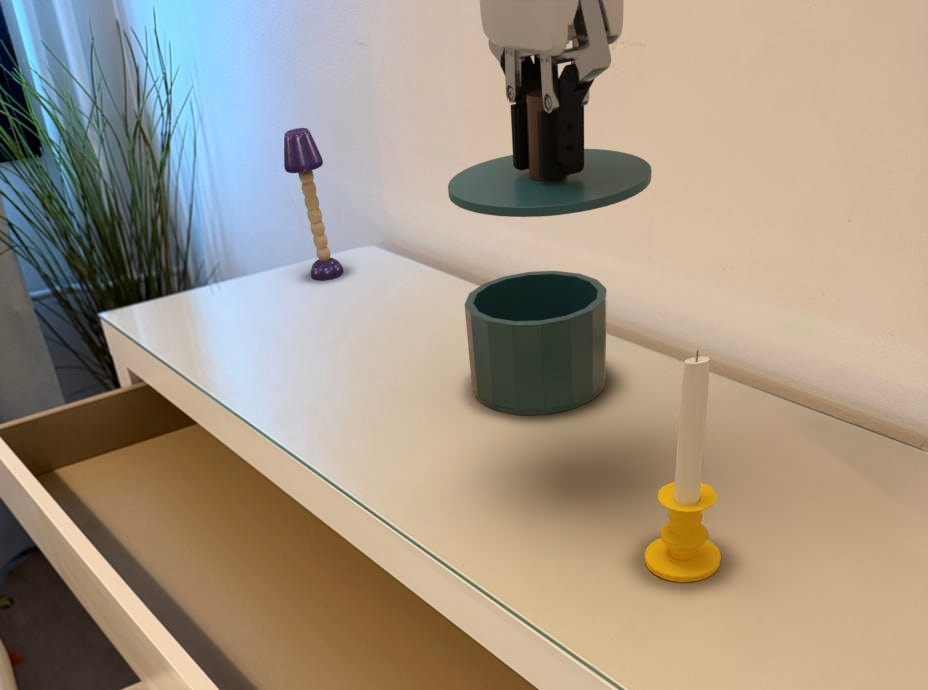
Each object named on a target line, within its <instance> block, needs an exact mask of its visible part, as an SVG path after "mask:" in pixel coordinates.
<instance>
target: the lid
mask: <svg viewBox="0 0 928 690" xmlns="http://www.w3.org/2000/svg"><path fill="white" fill-rule="evenodd" d="M526 106H527V133H528V159H529V169H526V170H518V169H516V168H514V165H513V154H509V155H505V156H500V157H497V158H493V159H489V160H486V161H483V162H480V163H477V164H473V165H472V166H469V167H466V169H463V170H461V171H460V172H458V173H457V174H455V175H454V176H453V177H452V178H451V179H450V180H449V182H448V184H447V191H448V192H447V193H448V198H449V200H450V202H451V203H452V204H453V205H454V206H456V207H458V208H460V209H463V210H464V211H465V210H466V211H469V212H472V213H475V214H481V215H486V216H496V217H507V218H508V217H510V218H537V217H538V218H540V217H541V218H542V217H553V216H563V215H570V214H577V213H582V212H583V213H584V212H586V211H593V210H597V209H601V208H605V207H608V206H612V205H615V204H618V203H621V202H624V201H626V200H629V199H631V198H633V197H635V196H637V195H639V194H640V193H641V192H644V190H646V189H647V188H648V187H649V185H650V184H651V181H652V166H651V164H650V163H649V162H648V161H647V160H645V159H644V158H641V157H640V156H637V155H635V154H631V153H627V152H623V151H619V150H618V151H617V150H611V149H602V148H601V149H600V148H584V168H583V170H582V171H581V172H579V173H575V174H571V175H567V176H563V177H559V178H555V179H551V180H545V179H542V178H541V177H540V175H539V151H538V120H537V112H541V111H545V110H544V107H543V98H542V89H538V90H534V91H531V92H529V93H527V94H526Z"/></svg>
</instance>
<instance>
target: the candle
mask: <svg viewBox="0 0 928 690" xmlns="http://www.w3.org/2000/svg"><path fill="white" fill-rule="evenodd" d="M710 360H711V358H710V357H708V356H699V349H698V350H696V353H695V356H693V357H690V358H687V359H685V360H684V364H683V373H682V381H681V392H680V403H679V405H680V406H679V421H678V431H677V447H676V462H675V474H674V481H672V482H669V483H667V484H665V485H664V486H662V487H661V488H660V489H659V490H658V493H657V500H658V502H659V504H660V505H661V506H663V507H664V508H666V509H668V510H669V512H668V522H667V523H665V524H664V525H663V526H662V527H661V529H660V533H659V534H660V537H659V538H657V539H655V540H654V541H652V542H651V543H649V544H648V546H647V547H646V548H645V552H644V562H645V563H644V564H645V565H646V567H647V569H648V570H649V571H650V572H651V573H652V574H653V575H655V576H656V577H657V576H658V577H659V578H661V579H663V580H667V581H670V582H676V583H692V582H697V581H702V580H704V579H707V578H709V577H710V576H712V575H713V574H715V573H716V572H717V570H718V569H719V567H720V565H721V559H722V558H721V557H722V556H721V551H720V549H719V548H718V547H717V546H716V544H715V543H713V542H712V541H710V540H709V539H708V538H709V537H708V536H709V531H708V528H707V527H706V526H705V525H704V524H703V523H702V521H703V517H704V516H703V511H705V510H707V509H709V508H711V507H713V506H714V505H715V503H716V502H717V500H718V495H717V492H716V491H715V489H714V488H713V487H711V486H710V485H709V484H707V483H704V482H702V476H703V463H704V451H705V438H706V437H705V436H706V427H707V426H706V424H707V412H708V411H707V410H708V401H709V400H708V399H709V386H710Z"/></svg>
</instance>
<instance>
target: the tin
mask: <svg viewBox="0 0 928 690" xmlns="http://www.w3.org/2000/svg"><path fill="white" fill-rule="evenodd" d="M607 296H608V295H607V287H605V286H604V285H603V284H602V283H601V282H600V281H599V280H598V279H596V278H594V277H591V276H588V275H585V274H582V273H579V272H569V271H562V270H561V271H560V270H540V271H539V270H538V271H535V270H534V271H527V272H520V273H515V274H509V275H505V276H501V277H497V278H496V279H493V280H490V281H487V282H484V283H482V284H480V285H479V286H478V287H476V288H475V289H473V290H472V291H470V292H469V293H468V295H467V298H466V300H465V302H464V314H465V325H466V336H467V345H468V346H467V348H468V359H469V369H470V381H471V387H472V389H473V395H474V397H475V398H476V399H477V400H478V401H479V402H480V403H481V404H482V405H484V406H485V407H487V408H490V409H492V410H495V411H497V412H501V413H506V414H511V415H521V416H541V415H550V414H557V413H561V412H565V411H569V410H573V409H576V408H579V407H581V406H583V405H585V404H587V403H590V402H591V401H592V400H594V399H595V398H597V396H598V395H600V394H601V392H602V391H603V390H604V388H605V385H606V373H607Z"/></svg>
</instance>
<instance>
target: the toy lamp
mask: <svg viewBox="0 0 928 690" xmlns="http://www.w3.org/2000/svg"><path fill="white" fill-rule="evenodd" d="M323 160H324V159H323V157H322V155H321V153H320V150H319V148H318V146H317V143H316V141H315V139H314V137H313V135H312V133H311V130H309V128H307V127H297V128H293V129H289V130H287V131H285V133H284V136H283V167H284V170H285V172H286V173H289V174H298V178H299V180H300V182H301V192H302V194H303V196H304V199H303V200H304V205H305V208H306V209H307V212H306V213H307V219H308V221H309V223H310V225H309V226H310V227H309V228H310V232H311V234H312V236H313V239H312V240H313V244H314V246H315V248H316V249H315V250H316V251H315V253H316V257H317V260H316V261H314V262H313V263H312V266H311V268H310V278H311V279H313V280H317V281H327V280H331V279H336V278H338V277H339V276H340V277H341V275H343V273H344V268H343V265H342V263H340V261H339V260H338V259H336V258H333V257H331V250H330V249H329V247H328V245H329V244H328V243H329V242H328V237H327V235H326V234H325V233H326V226H325V223H324V222H323V213H322V211H321V209H320V201H319V196H317V186H316V183H315V181H314V171H315V170H317V169H319V168H321V167H322V166H323V164H324V161H323Z"/></svg>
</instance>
